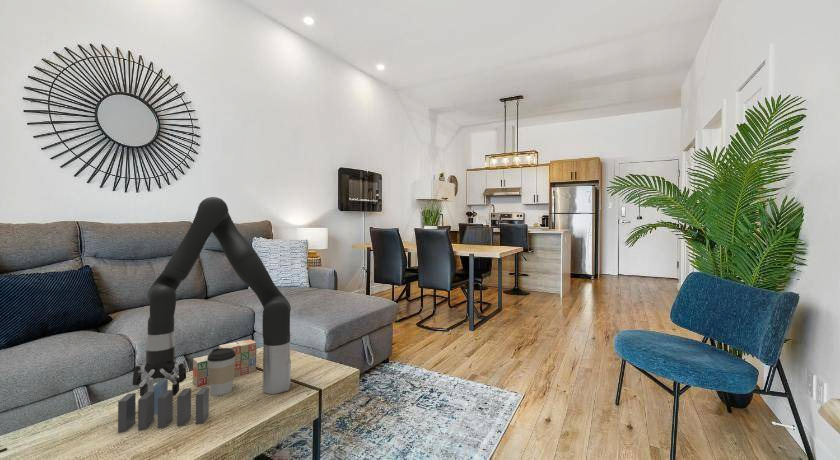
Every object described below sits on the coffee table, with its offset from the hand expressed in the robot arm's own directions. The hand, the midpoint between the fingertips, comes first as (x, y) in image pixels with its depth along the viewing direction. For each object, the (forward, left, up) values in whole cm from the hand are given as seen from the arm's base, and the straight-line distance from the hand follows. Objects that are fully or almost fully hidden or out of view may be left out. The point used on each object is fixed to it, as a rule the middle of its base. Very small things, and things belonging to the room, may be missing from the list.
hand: (159, 396), depth 115 cm
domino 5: (-15, +9, -5) cm, 19 cm away
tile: (0, 0, -5) cm, 5 cm away
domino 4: (-10, +9, -5) cm, 15 cm away
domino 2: (0, +9, -5) cm, 10 cm away
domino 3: (-5, +9, -5) cm, 12 cm away
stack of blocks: (-13, -24, -5) cm, 28 cm away
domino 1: (+5, +9, -5) cm, 11 cm away
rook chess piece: (+7, -8, -5) cm, 12 cm away
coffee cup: (-15, -10, -5) cm, 19 cm away
